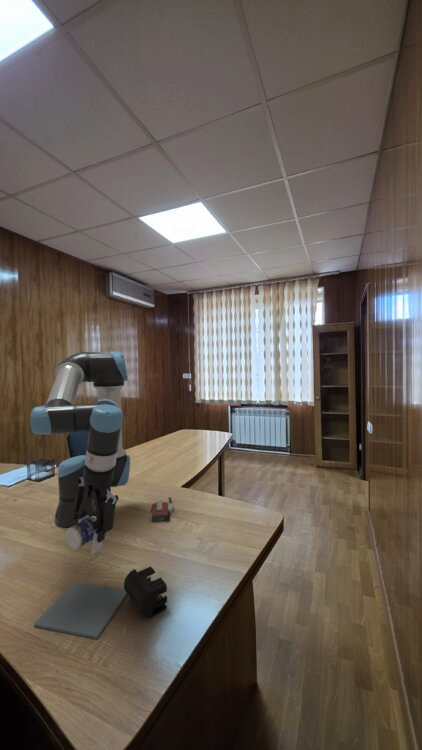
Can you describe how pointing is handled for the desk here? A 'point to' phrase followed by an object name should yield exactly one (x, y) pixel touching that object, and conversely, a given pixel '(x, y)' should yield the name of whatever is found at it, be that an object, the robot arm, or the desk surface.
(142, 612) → the end cap
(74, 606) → the mat
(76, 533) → the pill bottle
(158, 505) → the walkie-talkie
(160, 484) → the desk surface
